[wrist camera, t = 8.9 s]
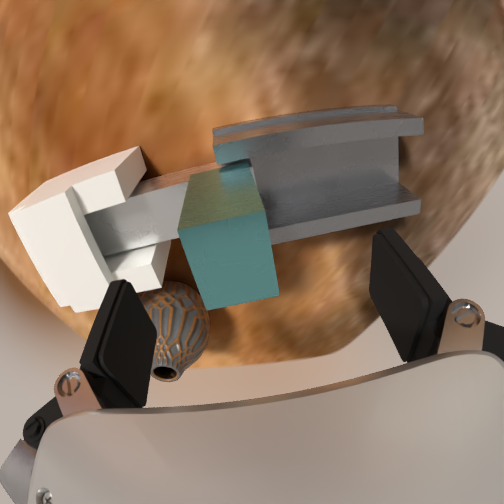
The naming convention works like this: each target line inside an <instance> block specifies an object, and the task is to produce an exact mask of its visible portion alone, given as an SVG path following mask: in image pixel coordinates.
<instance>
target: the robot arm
mask: <svg viewBox="0 0 504 504" xmlns="http://www.w3.org/2000/svg"><path fill="white" fill-rule="evenodd" d="M369 292H370V296H371V298H372V300H373V302H374V304H375V306H376V308H377V310H378V312H379V314H380V316H381V318H382V320H383V322H384V323H385V326H386V328H387V330H388V332H389V334H390V336H391V338H392V340H393V342H394V344H395V346H396V348H397V350H398V353H399V355H400V357H401V359H402V360H403V362H406V361H407V363H406V364H403V365H400V366H397V367H393V368H390V369H387V370H383V371H380V372H376V373H372V374H369V375H365V376H362V377H358V378H354V379H350V380H346V381H342V382H338V383H334V384H330V385H326V386H321V387H316V388H311V389H307V390H302V391H297V392H292V393H286V394H281V395H275V396H269V397H263V398H256V399H249V400H241V401H233V402H225V403H215V404H206V405H193V406H180V407H179V406H178V407H159V408H158V407H157V408H142V407H143V406H145V405H146V401H147V394H148V387H149V381H150V375H151V368H152V363H153V357H154V351H155V345H156V340H157V330H156V327H155V326H154V324H153V322H152V320H151V319H150V317H149V315H148V313H147V311H146V310H145V308H144V306H143V304H142V302H141V300H140V299H139V297H138V295H137V293H136V291H135V289H134V287H133V285H132V284H131V282H127V280H125V279H121V280H115V281H112V282H110V284H109V287H108V289H107V291H106V294H105V296H104V298H103V301H102V303H101V306H100V308H99V311H98V313H97V316H96V318H95V321H94V323H93V326H92V328H91V331H90V334H89V336H88V339H87V342H86V345H85V347H84V350H83V353H82V356H81V359H80V364H81V366H80V369H78V368H70V369H67V370H65V371H64V372H63V373H62V374H60V375H59V377H58V378H57V380H56V382H55V386H54V392H55V397H54V398H53V399H52V400H50V401H49V402H48V403H47V404H46V405H44V406H43V407H42V408H41V409H39V410H38V411H37V412H36V413H35V414H33V415H32V416H31V417H30V418H29V419H28V420H27V422H26V423H25V425H24V429H23V437H24V440H21V439H20V440H19V441H18V443H17V444H16V446H15V447H14V449H13V450H12V452H11V453H10V455H9V456H8V458H7V459H6V460H5V462H4V464H3V465H2V466H1V469H0V482H1V484H2V486H3V487H4V489H5V490H6V492H7V493H8V495H9V496H10V498H11V499H12V500H13V502H14V503H15V504H504V327H502V326H499V325H496V324H494V323H491V322H488V321H485V316H484V312H483V310H482V309H481V307H480V306H479V305H478V304H476V303H475V302H473V301H471V300H468V299H458V300H455V301H453V302H452V300H451V299H450V298H449V296H448V295H447V294H446V292H445V291H444V290H443V288H442V287H441V286H440V284H439V283H438V282H437V280H436V279H435V278H434V276H433V275H432V274H431V272H430V271H429V270H428V269H427V267H426V266H425V265H424V263H423V262H422V261H421V260H420V259H419V258H418V257H417V256H416V255H415V254H414V253H413V251H412V250H411V249H410V248H409V246H408V245H407V244H406V243H405V242H404V241H403V239H402V238H401V237H400V236H399V235H398V233H397V232H396V231H395V230H394V229H393V228H386V229H381V230H378V231H377V234H375V235H373V242H372V259H371V273H370V284H369Z"/></svg>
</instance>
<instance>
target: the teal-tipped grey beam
mask: <svg viewBox="0 0 504 504" xmlns="http://www.w3.org/2000/svg"><path fill="white" fill-rule="evenodd" d="M84 217H85V219H86V221H87V224H88V226H89V228H90V230H91V233H92V235H93V237H94V239H95V241H96V243H97V246H98V248H99V250H100V252H101V254H102V256H106V255H110V254H114V253H118V252H122V251H126V250H130V249H134V248H138V247H142V246H146V245H150V244H154V243H159V242H163V241H167V240H171V239H176V238H180V240H181V243H182V246H183V249H184V251H185V254H186V257H187V260H188V263H189V265H190V268H191V271H192V273H193V276H194V279H195V281H196V284H197V287H198V289H199V292H200V295H201V297H202V300H203V302H204V305H205V307H206V310H212V309H217V308H222V307H227V306H232V305H237V304H242V303H247V302H252V301H257V300H261V299H266V298H271V297H275V296H280V293H279V287H278V281H277V276H276V270H275V264H274V258H273V252H272V247H271V241H270V235H269V230H268V224H267V218H266V213H265V209H264V206H263V203H262V200H261V198H260V195H259V192H258V189H257V186H256V180H255V175H254V170H253V166H252V163H251V161H250V158H246V159H241V160H237V161H232V162H228V163H223V164H219V165H217V162H213V163H209V164H205V165H201V166H197V167H193V168H189V169H185V170H181V171H177V172H173V173H169V174H166V175H162V176H158V177H155V178H151V179H148V180H144V181H141V182H138V184H137V185H136V187H135V188H134V190H133V191H132V193H131V195H130V196H129V198H128V199H127V201H126V202H123V203H120V204H117V205H114V206H110V207H107V208H104V209H101V210H98V211H94V212H91V213H88V214H85V215H84Z"/></svg>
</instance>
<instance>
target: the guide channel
mask: <svg viewBox="0 0 504 504" xmlns="http://www.w3.org/2000/svg"><path fill="white" fill-rule="evenodd" d="M410 135H423V118H422V117H418V116H415V115H412V114H409V113H406V112H402V111H399V110H397V106H394V105H371V106H356V107H344V108H333V109H324V110H315V111H307V112H300V113H292V114H286V115H279V116H273V117H267V118H262V119H256V120H251V121H245V122H240V123H235V124H231V125H226V126H221V127H217V128H213V149H214V153H215V157H216V161H217V165H219V164H223V163H228V162H232V161H237V160H241V159H246V158H250V161H251V163H252V166H253V170H254V175H255V180H256V186H257V189H258V192H259V195H260V198H261V200H262V203H263V206H264V209H265V213H266V218H267V224H268V230H269V235H270V241H271V245H274V244H279V243H283V242H288V241H293V240H297V239H302V238H307V237H311V236H316V235H321V234H325V233H330V232H335V231H340V230H344V229H349V228H354V227H358V226H363V225H368V224H373V223H377V222H382V221H387V220H392V219H396V218H401V217H406V216H410V215H415V214H420V206H421V199H420V198H419V197H417V196H416V195H415V194H413V193H412V192H411V191H409V190H408V189H407V188H405V187H404V186H402V185H401V184H400V183H398V171H399V151H398V136H410Z"/></svg>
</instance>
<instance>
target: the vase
mask: <svg viewBox="0 0 504 504" xmlns="http://www.w3.org/2000/svg"><path fill="white" fill-rule="evenodd" d="M139 299H140V300H141V302H142V304H143V306H144V308H145V310H146V311H147V313H148V315H149V317H150V319H151V320H152V322H153V324H154V326H155V327H156V330H157V340H156V345H155V351H154V357H153V363H152V368H151V376H152V377H154V378H155V379H157V380H160V381H164V382H173V381H176V380H178V379H179V378H180V377H181V375H182V373H183V372H184V371H185V370H186V369H187V368H188V367H189V366H191V365H192V364H193V363H194V362H195V361H197V360H198V358H199V357H200V356H201V355H202V353H203V351H204V349H205V347H206V345H207V342H208V339H209V334H210V319H209V313H208V310H206V307H205V305H204V302H203V300H202V298H201V296H200V295H199V294H198V293H197V292H196V291H195V290H194V289H193V288H191V287H190V286H188V285H186V284H184V283H181V282H176V281H164V282H163V283H162V288H157V289H152V290H147V291H144V293H143V294H142V295H141V296H140V297H139Z"/></svg>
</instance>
